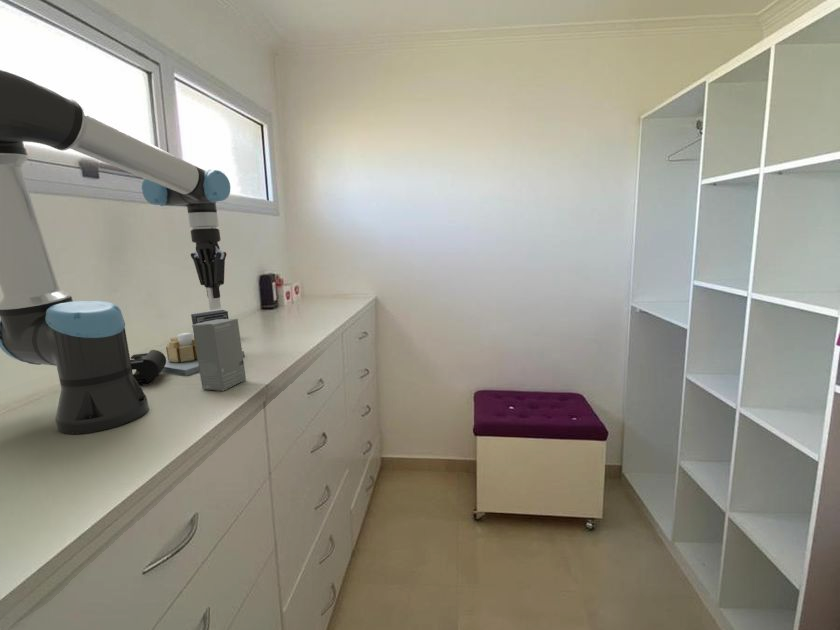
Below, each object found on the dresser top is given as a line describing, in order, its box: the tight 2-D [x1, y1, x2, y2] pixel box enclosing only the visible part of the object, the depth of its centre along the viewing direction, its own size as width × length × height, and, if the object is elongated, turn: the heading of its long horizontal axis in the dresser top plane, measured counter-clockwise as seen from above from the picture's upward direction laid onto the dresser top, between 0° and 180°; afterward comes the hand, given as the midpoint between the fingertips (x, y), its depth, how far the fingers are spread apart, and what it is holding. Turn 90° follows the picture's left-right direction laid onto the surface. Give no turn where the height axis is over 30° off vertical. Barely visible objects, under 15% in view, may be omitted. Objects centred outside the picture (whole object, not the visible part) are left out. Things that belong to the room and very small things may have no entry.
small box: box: [190, 309, 230, 325], centre depth 150 cm, size 11×6×10 cm, turn 130°
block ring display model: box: [160, 332, 245, 377], centre depth 126 cm, size 19×18×8 cm
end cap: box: [130, 349, 167, 387], centre depth 112 cm, size 10×7×7 cm
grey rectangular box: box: [191, 318, 247, 392], centre depth 104 cm, size 8×7×16 cm
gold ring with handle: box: [165, 336, 198, 362], centre depth 127 cm, size 16×10×5 cm, turn 115°
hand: (215, 308), depth 131 cm, fingers closed
